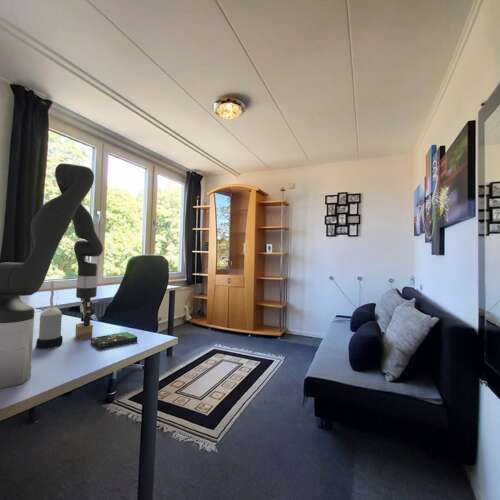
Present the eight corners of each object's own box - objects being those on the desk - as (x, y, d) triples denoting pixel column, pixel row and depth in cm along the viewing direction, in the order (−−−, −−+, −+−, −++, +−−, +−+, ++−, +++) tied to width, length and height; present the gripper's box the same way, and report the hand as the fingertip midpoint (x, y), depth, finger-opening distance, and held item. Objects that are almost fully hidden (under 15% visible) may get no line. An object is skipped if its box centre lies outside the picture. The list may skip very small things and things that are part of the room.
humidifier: (40, 342, 105) (44, 279, 105) (65, 341, 108) (68, 279, 108) (32, 350, 97) (36, 282, 98) (58, 348, 100) (62, 282, 101)
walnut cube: (92, 337, 114) (92, 325, 114) (76, 340, 110) (77, 326, 110) (90, 334, 118) (90, 322, 118) (75, 336, 114) (76, 323, 115)
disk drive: (98, 352, 100) (137, 343, 111) (99, 344, 100) (138, 336, 111) (90, 344, 107) (127, 337, 118) (90, 338, 107) (127, 330, 118)
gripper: (99, 287, 111) (98, 326, 111) (94, 283, 122) (92, 318, 122) (78, 288, 107) (76, 329, 107) (74, 284, 118) (73, 320, 118)
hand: (85, 323), depth 114 cm, fingers open, 8 cm apart
